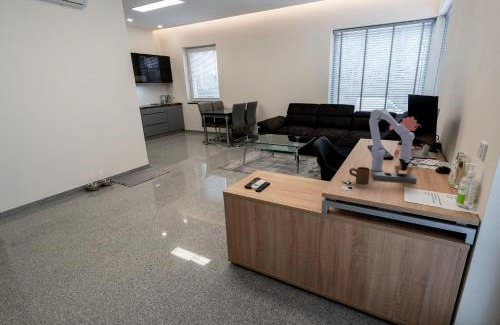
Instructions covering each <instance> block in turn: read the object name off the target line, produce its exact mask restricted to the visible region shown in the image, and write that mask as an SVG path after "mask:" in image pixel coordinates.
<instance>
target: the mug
mask: <svg viewBox="0 0 500 325" xmlns="http://www.w3.org/2000/svg"><path fill="white" fill-rule="evenodd" d="M370 171H371V168H369V167H365V166H357V168H354V167H352V168H349V171H348V172H349V174H350V176H353V177H355V182H356V183H357V184H359V185H367V184H369V181H370ZM354 172H355V173H354Z"/></svg>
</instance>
